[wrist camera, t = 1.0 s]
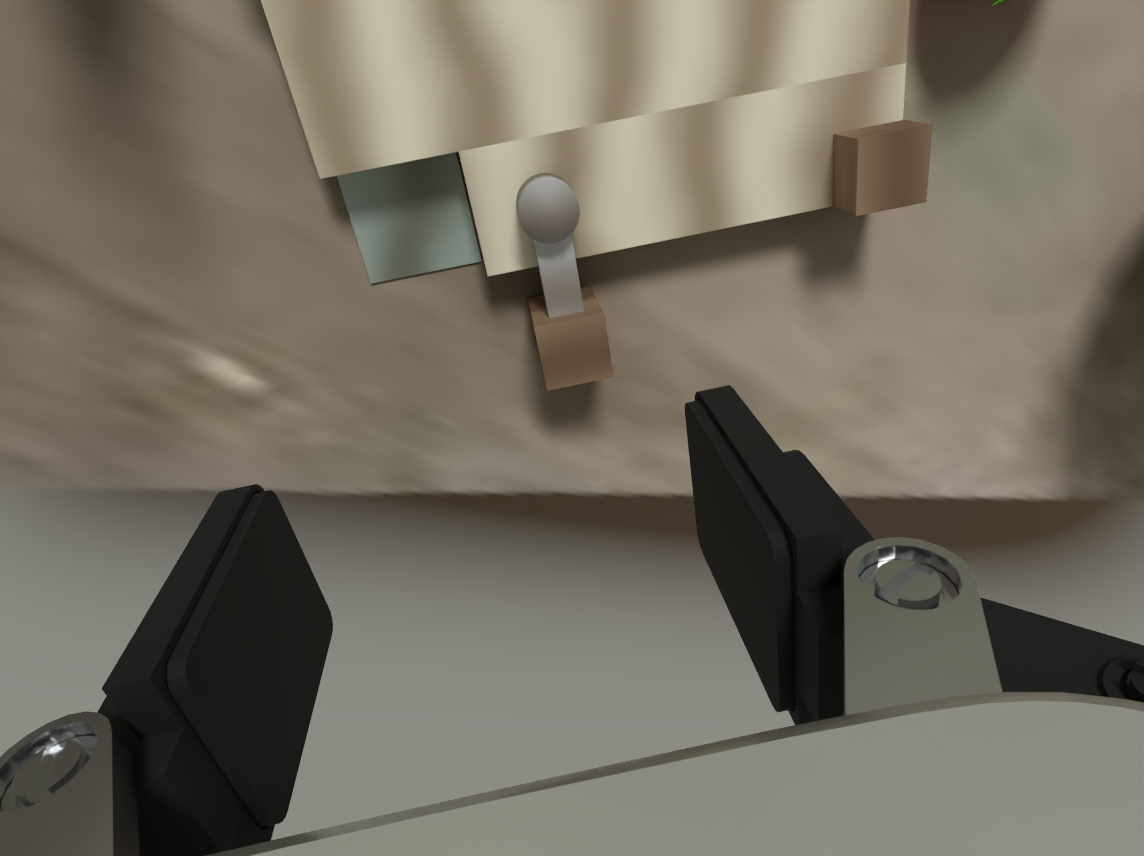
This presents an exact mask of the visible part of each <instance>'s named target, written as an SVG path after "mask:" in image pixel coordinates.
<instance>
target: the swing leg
mask: <svg viewBox="0 0 1144 856" xmlns="http://www.w3.org/2000/svg"><path fill="white" fill-rule="evenodd" d="M516 208H517V213H518V216H519V220H520V223H521V226H522V228H523V229H524V231H525V232H526V233H527V234H528V235H529V236H530V237H531V238H532V239H533V241H534V246H535V251H536V256H537V262H538V267H539V272H540V277H541V282H542V287H543V292H544V295H540V296H535V297H530V298H528V302H529V307H530V312H531V317H532V322H533V326H534V331H535V336H536V341H537V346H538V350H539V355H540V360H541V365H542V369H543V374H544V378H545V383H546V388H547V391H549V390H554V389H559V388H564V387H568V386H573V385H578V384H583V383H588V382H592V381H597V380H602V379H607V378H612V377H613V370H612V364H611V357H610V351H609V344H608V338H607V331H606V325H605V318H604V313H603V311H602V309H601V307H600V305H599V303H598V301H597V299H596V297H595V295H594V293H593V291H592V289H591V287H590V285H589V286H584V287H580V282H579V276H578V270H577V265H576V259H575V253H574V247H573V241H572V235H571V234H572V232H573V231H574V230H575V228H576V226H577V224H578V221H579V217H580V206H579V202H578V199H577V197H576V195H575V194H574V192H573V191H572V190H571V188H570V187H569V186H568V184H567V183H566V182H565V181H564V180H563V179H562V178H560V177H559V176H556V175H554V174H550V173H540V174H536V175H534V176H532V177H530V178H528V179H527V180H526V181H525V182H524V183H523V184H522V186H521V187H520V189H519V191H518V194H517V198H516Z"/></svg>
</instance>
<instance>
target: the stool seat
mask: <svg viewBox="0 0 1144 856" xmlns="http://www.w3.org/2000/svg"><path fill="white" fill-rule="evenodd" d="M261 3H262V6H263V9H264V12H265V15H266V18H267V21H268V24H269V27H270V30H271V33H272V36H273V39H274V42H275V45H276V48H277V51H278V54H279V57H280V60H281V63H282V66H283V69H284V72H285V75H286V78H287V81H288V84H289V87H290V90H291V93H292V96H293V99H294V102H295V105H296V108H297V111H298V114H299V117H300V120H301V123H302V126H303V129H304V132H305V135H306V138H307V141H308V144H309V147H310V150H311V153H312V156H313V159H314V162H315V165H316V168H317V171H318V174H319V177H320V179H322V178H327V177H332V176H337V179H338V182H339V185H340V189H341V192H342V195H343V198H344V201H345V204H346V207H347V210H348V213H349V217H350V220H351V223H352V226H353V229H354V232H355V235H356V238H357V242H358V245H359V248H360V251H361V254H362V257H363V260H364V263H365V266H366V270H367V273H368V276H369V279H370V282H371V284H372V283H377V282H382V281H387V280H392V279H397V278H402V277H407V276H412V275H417V274H422V273H427V272H432V271H437V270H442V269H447V268H451V267H456V266H461V265H466V264H471V263H476V262H481V261H482V260H481V256H480V252H479V247H478V243H477V239H476V235H475V230H474V226H473V222H472V218H471V213H470V209H469V205H468V201H467V196H466V192H465V188H464V184H463V180H462V175H461V171H460V167H459V163H458V158H457V154H456V152H459V155H460V160H461V164H462V168H463V172H464V177H465V181H466V185H467V190H468V194H469V198H470V202H471V207H472V211H473V215H474V219H475V224H476V228H477V232H478V237H479V241H480V245H481V249H482V254H483V258H484V262H485V266H486V271H487V275H488V276H493V275H498V274H503V273H507V272H512V271H517V270H522V269H527V268H532V267H537V266H538V262H537V256H536V251H535V246H534V241H533V239H532V238H531V237H530V236H529V235H528V234H527V233H526V232H525V231H524V229H523V228H522V226H521V223H520V220H519V216H518V213H517V208H516V198H517V194H518V191H519V189H520V187H521V186H522V184H523V183H524V182H525V181H526V180H527V179H528V178H530V177H532V176H534V175H536V174H540V173H550V174H554V175H556V176H559V177H560V178H562V179H563V180H564V181H565V182H566V183H567V184H568V186H569V187H570V188H571V190H572V191H573V192H574V194H575V195H576V197H577V199H578V202H579V206H580V217H579V221H578V224H577V226H576V228H575V230H574V231H573V232H572V234H571V235H572V241H573V247H574V253H575V259H576V258H581V257H586V256H591V255H596V254H601V253H606V252H611V251H616V250H621V249H626V248H631V247H635V246H640V245H645V244H650V243H655V242H660V241H665V240H670V239H675V238H680V237H685V236H690V235H695V234H700V233H704V232H709V231H714V230H719V229H724V228H729V227H734V226H739V225H744V224H749V223H754V222H759V221H764V220H768V219H773V218H778V217H783V216H788V215H793V214H798V213H803V212H808V211H813V210H818V209H823V208H828V207H835V208H837V209H840V210H842V211H844V212H847V213H849V214H852V215H854V216H860V215H865V214H870V213H875V212H879V211H884V210H889V209H894V208H899V207H904V206H909V205H914V204H919V203H924V202H926V198H927V185H928V173H929V160H930V148H931V135H932V124H928V123H921V122H914V121H907V120H903V108H904V92H905V75H906V59H907V42H908V26H909V9H910V0H261Z"/></svg>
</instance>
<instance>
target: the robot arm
mask: <svg viewBox="0 0 1144 856" xmlns="http://www.w3.org/2000/svg"><path fill="white" fill-rule="evenodd" d="M685 417H686V427H687V437H688V446H689V456H690V466H691V476H692V486H693V496H694V505H695V515H696V525H697V533H698V539H699V543H700V547H701V550H702V552H703V555H704V557H705V559H706V561H707V564H708V566H709V568H710V570H711V572H712V574H713V577H714V579H715V581H716V583H717V585H718V588H719V590H720V592H721V594H722V596H723V598H724V600H725V603H726V605H727V607H728V609H729V612H730V614H731V616H732V618H733V620H734V622H735V625H736V627H737V629H738V631H739V633H740V636H741V638H742V640H743V642H744V644H745V646H746V649H747V651H748V653H749V655H750V657H751V660H752V662H753V664H754V666H755V668H756V671H757V672H758V675H759V677H760V679H761V681H762V684H763V686H764V688H765V690H766V692H767V695H768V697H769V699H770V701H771V703H772V705H773V707H774V709H775V710H776V711H777V712H782V711H786V710H788V711H789V713H790V715H791V717H792V719H793V721H794V723H795V725H794V726H789V727H785V728H780V729H775V730H769V731H765V732H760V733H756V734H751V735H746V736H741V737H737V738H732V739H727V740H723V741H718V742H714V743H709V744H704V745H700V746H695V747H691V748H686V749H681V750H677V751H672V752H668V753H663V754H658V755H654V756H649V757H645V758H640V759H635V760H631V761H626V762H622V763H617V764H613V765H608V766H603V767H598V768H595V769H589V770H585V771H580V772H575V773H571V774H566V775H562V776H557V777H553V778H549V779H544V780H540V781H536V782H531V783H526V784H521V785H517V786H512V787H508V788H503V789H499V790H494V791H490V792H485V793H481V794H476V795H472V796H467V797H463V798H458V799H454V800H449V801H445V802H440V803H437V804H432V805H427V806H422V807H418V808H413V809H409V810H405V811H400V812H396V813H392V814H387V815H382V816H378V817H374V818H369V819H364V820H360V821H355V822H351V823H346V824H342V825H338V826H333V827H329V828H324V829H320V830H316V831H311V832H307V833H303V834H298V835H294V836H289V837H285V838H281V839H276V840H272V841H271V837H272V833H273V829H274V826H275V824H278V823H280V822H282V821H283V820H284V819H285V817H286V814H287V811H288V808H289V804H290V800H291V796H292V792H293V787H294V784H295V780H296V776H297V772H298V768H299V764H300V759H301V756H302V752H303V748H304V744H305V740H306V736H307V732H308V728H309V724H310V720H311V716H312V712H313V708H314V704H315V700H316V696H317V692H318V688H319V684H320V680H321V676H322V672H323V668H324V664H325V660H326V656H327V652H328V648H329V644H330V640H331V636H332V631H333V622H332V616H331V612H330V610H329V607H328V605H327V603H326V601H325V599H324V597H323V594H322V592H321V590H320V588H319V586H318V583H317V581H316V579H315V577H314V575H313V573H312V571H311V568H310V566H309V564H308V562H307V560H306V558H305V555H304V553H303V551H302V549H301V547H300V544H299V542H298V540H297V538H296V536H295V534H294V531H293V529H292V527H291V525H290V523H289V521H288V518H287V516H286V514H285V512H284V510H283V508H282V505H281V503H280V501H279V499H278V497H277V495H276V494H275V493H274V492H273V491H271V490H269V491H264V489H263V488H262V487H261V486H259V485H257V484H255V485H250V486H246V487H241V488H236V489H231V490H226V491H222V492H219V494H218V495H217V496H216V497H215V499H214V501H213V502H212V504H211V506H210V507H209V509H208V511H207V513H206V514H205V516H204V518H203V519H202V521H201V523H200V524H199V526H198V528H197V529H196V531H195V533H194V535H193V536H192V538H191V539H190V541H189V543H188V545H187V546H186V548H185V550H184V551H183V553H182V555H181V556H180V558H179V560H178V561H177V563H176V565H175V566H174V568H173V570H172V571H171V573H170V575H169V577H168V578H167V580H166V581H165V583H164V585H163V586H162V588H161V590H160V592H159V594H158V595H157V597H156V598H155V600H154V602H153V603H152V605H151V607H150V609H149V610H148V612H147V613H146V615H145V617H144V618H143V620H142V622H141V624H140V625H139V627H138V628H137V630H136V632H135V634H134V635H133V637H132V639H131V640H130V642H129V644H128V645H127V647H126V649H125V650H124V652H123V654H122V655H121V657H120V659H119V660H118V662H117V664H116V666H115V667H114V669H113V671H112V672H111V674H110V676H109V677H108V679H107V681H106V682H105V684H104V686H103V688H102V690H103V691H104V692H105V694H106V695H107V697H106V698H105V700H104V702H103V703H102V705H101V707H100V709H99V710H98V712H97V713H95V712H81V713H76V714H70V715H67V716H64V717H62V718H59V719H57V720H54V721H52V722H49V723H47V724H45V725H44V726H42V727H40V728H38V729H37V730H35V731H33V732H32V733H30V734H28V735H27V736H26V737H24V738H23V739H22V740H20V741H19V742H17V743H16V744H15V745H14V746H12V747H11V748H10V749H8V750H7V751H6V752H5V753H4V754H3V755H2V756H1V757H0V856H1144V646H1143V645H1140V644H1136V643H1133V642H1130V641H1126V640H1123V639H1119V638H1116V637H1113V636H1109V635H1106V634H1102V633H1099V632H1096V631H1092V630H1089V629H1085V628H1082V627H1079V626H1075V625H1072V624H1068V623H1065V622H1062V621H1058V620H1055V619H1052V618H1048V617H1045V616H1041V615H1038V614H1035V613H1031V612H1028V611H1024V610H1021V609H1017V608H1014V607H1011V606H1007V605H1004V604H1001V603H997V602H993V601H990V600H987V599H983V598H980V595H979V590H978V586H977V582H976V580H975V577H974V575H973V574H972V571H971V569H970V568H969V567H968V566H967V565H966V564H965V563H964V562H963V561H962V560H961V559H960V558H959V557H958V556H956V555H955V554H953V553H951V552H950V551H948V550H946V549H944V548H943V547H940V546H937V545H935V544H932V543H929V542H926V541H923V540H916V539H910V538H883V539H880V540H874V538H873V537H872V536H871V535H870V534H869V532H868V531H867V530H866V529H865V528H864V527H863V525H862V524H861V523H860V522H859V520H858V519H857V518H856V517H855V516H854V514H853V513H852V512H851V511H850V509H849V508H848V507H847V506H846V505H845V503H844V502H843V501H842V500H841V499H840V497H839V496H838V495H837V494H836V493H835V491H834V490H833V489H832V488H831V487H830V485H829V484H828V483H827V482H826V480H825V479H824V478H823V477H822V476H821V474H820V473H819V472H818V471H817V470H816V468H815V467H814V466H813V465H812V464H811V462H810V461H809V460H808V459H807V458H806V456H805V455H804V454H803V453H801V452H800V451H798V450H792V451H788V452H782V451H781V449H780V448H779V447H778V445H777V444H776V443H775V442H774V440H773V439H772V438H771V436H770V435H769V434H768V433H767V431H766V430H765V429H764V427H763V426H762V425H761V424H760V422H759V421H758V420H757V419H756V417H755V416H754V415H753V413H752V412H751V411H750V410H749V408H748V407H747V406H746V404H745V403H744V402H743V401H742V399H741V398H740V397H739V395H738V394H737V393H736V392H735V390H734V389H733V388H732V387H731V386H730V385H728V386H723V387H718V388H714V389H709V390H704V391H699V392H696V394H695V401H693V402H689V403H686V404H685Z"/></svg>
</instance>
